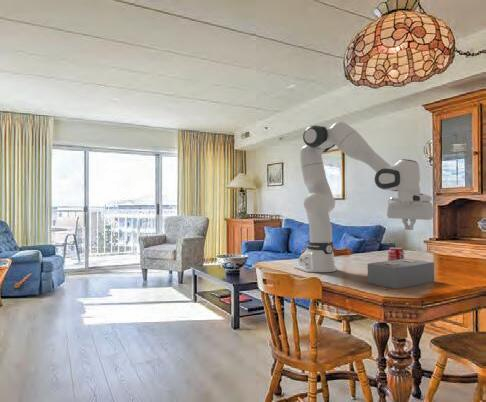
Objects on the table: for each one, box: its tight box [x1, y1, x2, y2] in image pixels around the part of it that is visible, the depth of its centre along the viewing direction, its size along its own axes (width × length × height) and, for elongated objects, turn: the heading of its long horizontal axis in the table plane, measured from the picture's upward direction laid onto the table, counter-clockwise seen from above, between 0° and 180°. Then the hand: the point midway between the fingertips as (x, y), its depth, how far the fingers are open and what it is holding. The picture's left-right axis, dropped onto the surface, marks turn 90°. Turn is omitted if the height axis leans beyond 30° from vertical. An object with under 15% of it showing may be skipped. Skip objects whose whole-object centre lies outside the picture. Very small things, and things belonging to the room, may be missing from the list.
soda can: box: [387, 246, 405, 261], centre depth 180 cm, size 7×7×12 cm
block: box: [367, 258, 435, 290], centre depth 160 cm, size 14×24×8 cm, turn 120°
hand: (409, 229), depth 164 cm, fingers closed
